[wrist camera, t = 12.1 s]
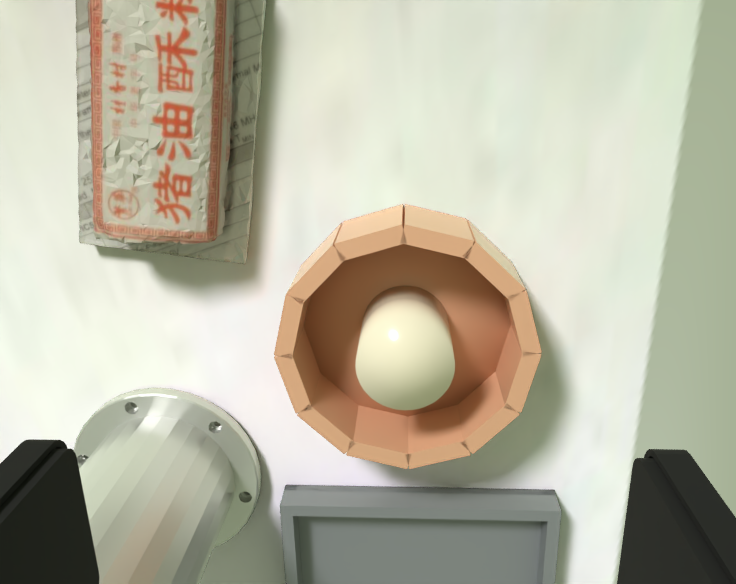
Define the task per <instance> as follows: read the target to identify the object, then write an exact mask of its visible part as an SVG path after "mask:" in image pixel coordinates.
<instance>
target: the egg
mask: <svg viewBox="0 0 736 584" xmlns="http://www.w3.org/2000/svg"><path fill="white" fill-rule="evenodd" d="M355 367H356V374H357V378H358V380H359V383H360V385H361V386H362V388H363V390H364V391H365V392H366V393H367V394H368V395H369V396H370V397H371V398H372V399H373V400H375V401H376V402H378V403H379V404H381V405H383V406H386V407H388V408H392V409H396V410H415V409H420V408H423V407H426V406H428V405H430V404H432V403H434V402H435V401H437V400H438V399H439V398H440V397H441V396H442V395H443V394H444V393H445V392H446V391H447V389H448V388H449V386H450V384H451V382H452V380H453V377H454V372H455V359H454V352H453V346H452V340H451V333H450V327H449V320H448V315H447V313H446V310H445V308H444V306H443V305H442V303H441V302H440V301H439V300H438V299H437V298H436V297H435V296H434V295H433V294H432V293H430V292H428V291H427V290H424V289H422V288H419V287H415V286H406V285H404V286H396V287H392V288H389V289H387V290H385V291H383V292H381V293H380V294H378V295H377V296H376V297H375V298H374V299H373V300H372V301H371V302H370V303H369V305H368V306H367V308H366V310H365V313H364V316H363V322H362V327H361V333H360V339H359V344H358V350H357V355H356V364H355Z"/></svg>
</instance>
